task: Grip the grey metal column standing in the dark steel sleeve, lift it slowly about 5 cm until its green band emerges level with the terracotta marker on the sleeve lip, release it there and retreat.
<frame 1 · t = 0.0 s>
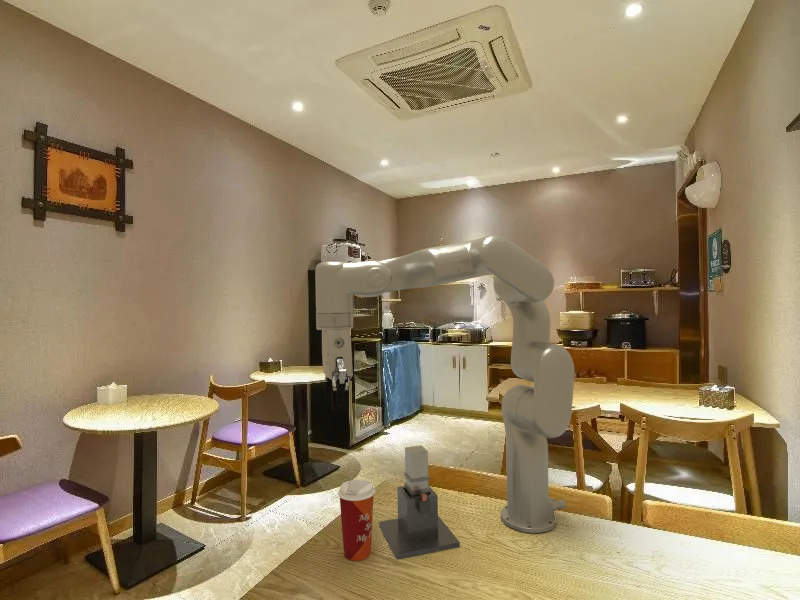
hand: (336, 404, 90), 31 cm above the table, fingers open, 9 cm apart
column: (416, 489, 97), point 10 cm above the table, slide at 0.0 cm
paper cup: (357, 553, 91), on the table
stand base: (417, 535, 97), on the table
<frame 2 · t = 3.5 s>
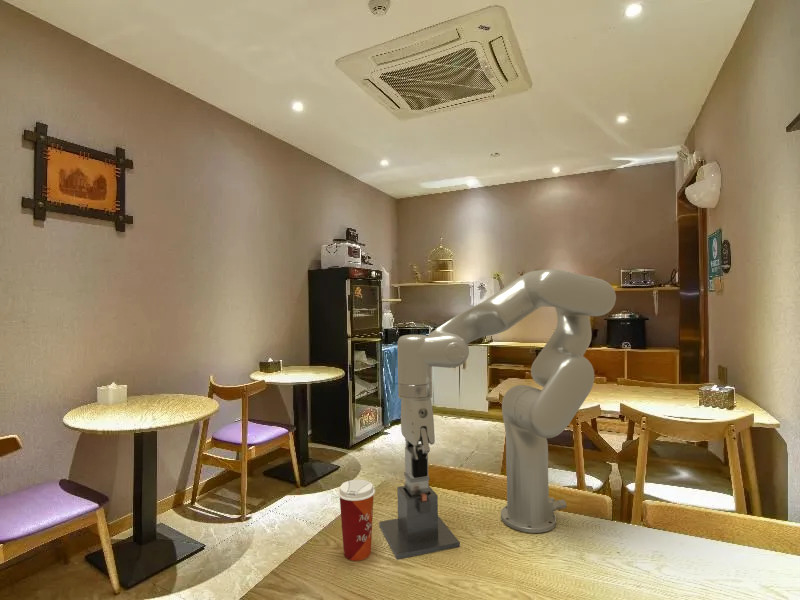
hand: (416, 471, 97), 14 cm above the table, fingers closed on column, 4 cm apart
column: (416, 489, 97), point 10 cm above the table, slide at 0.0 cm, touching gripper
everything else where it was.
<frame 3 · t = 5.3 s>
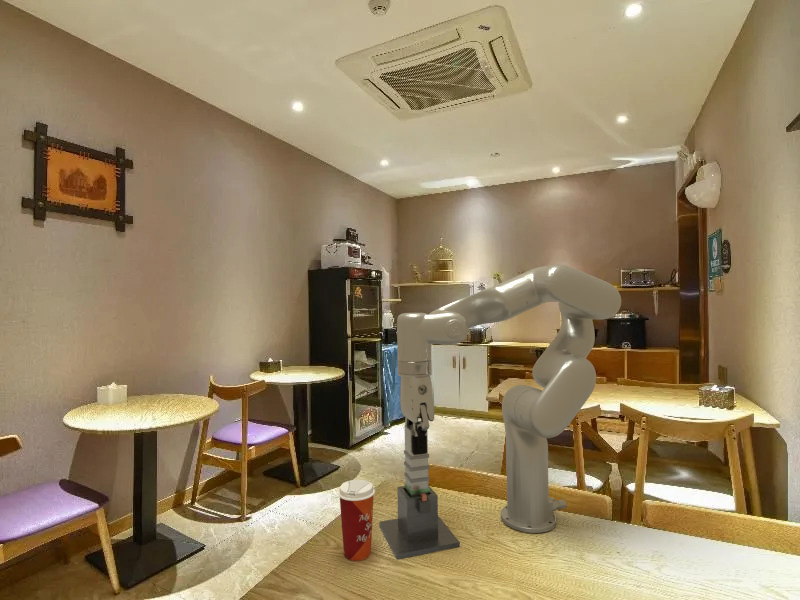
hand: (416, 449, 97), 19 cm above the table, fingers closed on column, 4 cm apart
column: (416, 467, 97), point 15 cm above the table, slide at 4.9 cm, touching gripper
everything else where it was.
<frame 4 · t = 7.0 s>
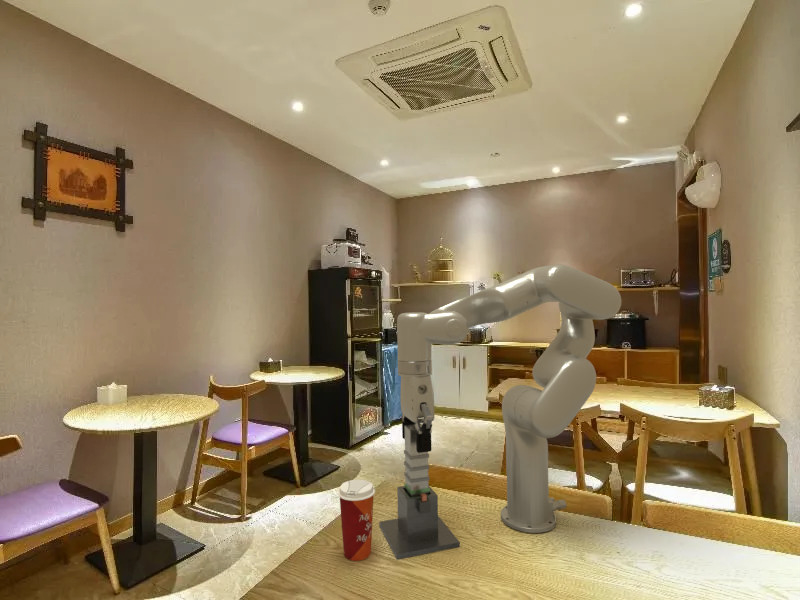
hand: (416, 444, 97), 20 cm above the table, fingers open, 9 cm apart
column: (416, 467, 97), point 15 cm above the table, slide at 5.0 cm
everything else where it was.
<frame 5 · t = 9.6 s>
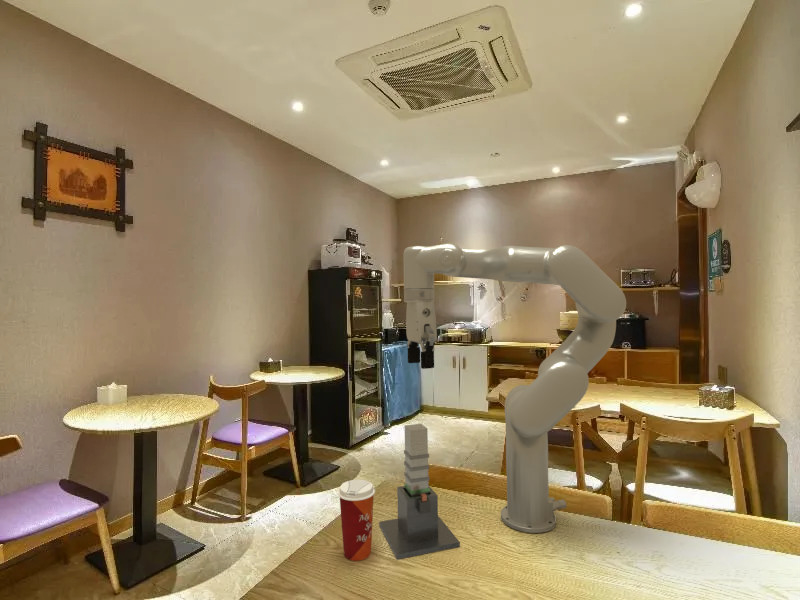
hand: (420, 365, 108), 36 cm above the table, fingers open, 9 cm apart
nothing on the table moved.
at the end: column slide at 5.0 cm; the gripper is holding nothing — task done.
